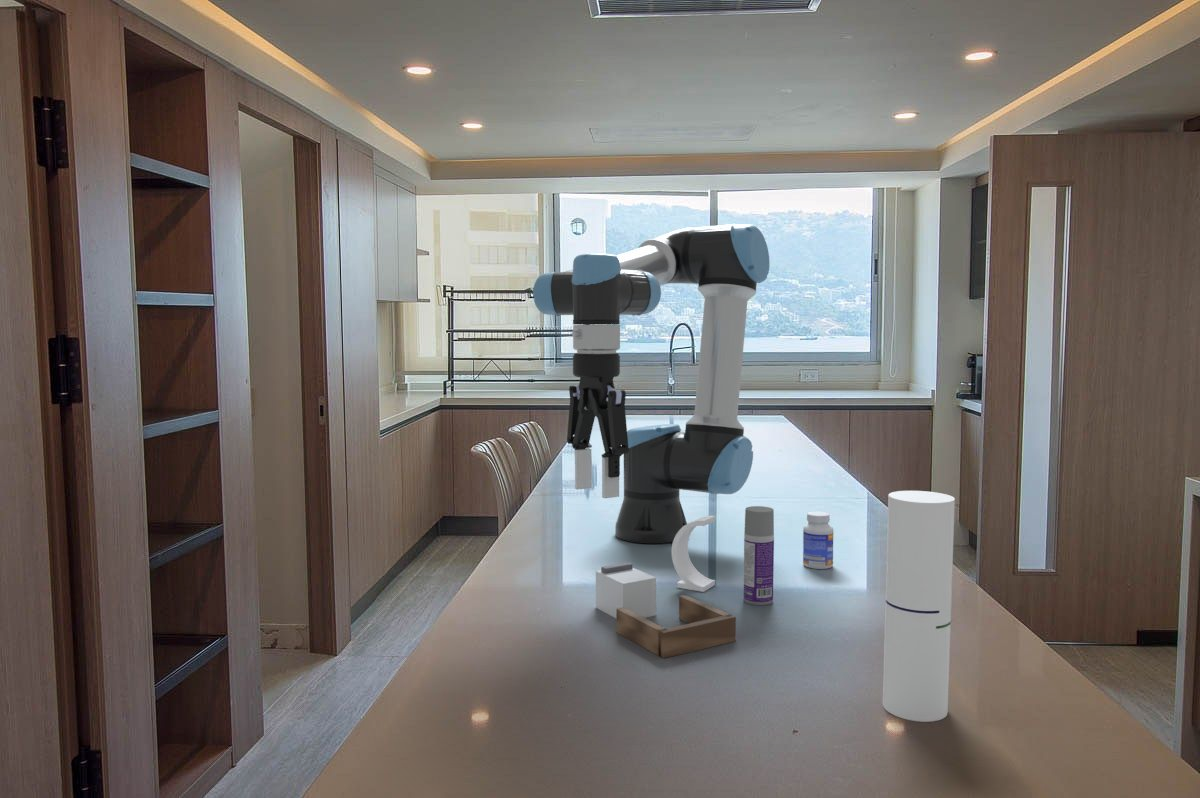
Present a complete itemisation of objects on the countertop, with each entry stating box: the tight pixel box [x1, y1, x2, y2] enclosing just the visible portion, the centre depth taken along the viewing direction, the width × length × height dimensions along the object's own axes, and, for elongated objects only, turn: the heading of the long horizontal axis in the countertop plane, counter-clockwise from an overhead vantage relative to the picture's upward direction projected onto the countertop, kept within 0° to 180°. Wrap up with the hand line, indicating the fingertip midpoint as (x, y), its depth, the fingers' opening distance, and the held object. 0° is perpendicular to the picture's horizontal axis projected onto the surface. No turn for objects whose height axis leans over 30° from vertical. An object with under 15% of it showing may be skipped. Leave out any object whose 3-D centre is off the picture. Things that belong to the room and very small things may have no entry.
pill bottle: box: [802, 511, 834, 570], centre depth 164 cm, size 5×5×10 cm
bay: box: [615, 594, 737, 659], centre depth 128 cm, size 12×12×4 cm
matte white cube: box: [595, 562, 657, 619], centre depth 139 cm, size 8×6×7 cm
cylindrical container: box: [882, 490, 956, 723], centre depth 103 cm, size 7×7×25 cm
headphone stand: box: [671, 515, 716, 593], centre depth 152 cm, size 5×6×12 cm
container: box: [743, 505, 775, 606], centre depth 144 cm, size 5×5×15 cm
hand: (596, 492), depth 145 cm, fingers open, 8 cm apart
